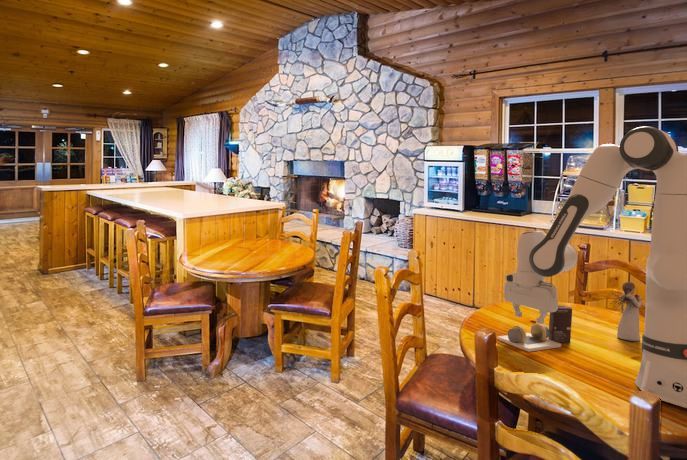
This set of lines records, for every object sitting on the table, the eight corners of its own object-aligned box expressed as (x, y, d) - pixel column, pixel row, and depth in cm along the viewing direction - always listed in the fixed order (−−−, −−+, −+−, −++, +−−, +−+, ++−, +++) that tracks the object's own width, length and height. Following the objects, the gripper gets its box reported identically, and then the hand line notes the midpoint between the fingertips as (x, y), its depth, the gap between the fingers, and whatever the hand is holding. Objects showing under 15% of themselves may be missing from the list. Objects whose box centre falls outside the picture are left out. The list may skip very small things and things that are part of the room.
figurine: (644, 340, 151) (646, 283, 150) (630, 345, 145) (632, 285, 144) (614, 333, 159) (616, 279, 158) (599, 337, 154) (602, 281, 153)
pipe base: (560, 346, 143) (561, 328, 142) (528, 351, 137) (529, 332, 137) (527, 335, 155) (528, 318, 155) (497, 339, 150) (497, 321, 150)
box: (552, 342, 147) (554, 307, 146) (548, 338, 151) (549, 304, 151) (571, 343, 146) (572, 308, 146) (566, 339, 151) (567, 305, 150)
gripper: (563, 283, 137) (562, 326, 138) (515, 274, 156) (514, 312, 156) (548, 284, 135) (547, 328, 135) (501, 275, 153) (500, 313, 154)
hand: (529, 319), depth 146 cm, fingers open, 8 cm apart
